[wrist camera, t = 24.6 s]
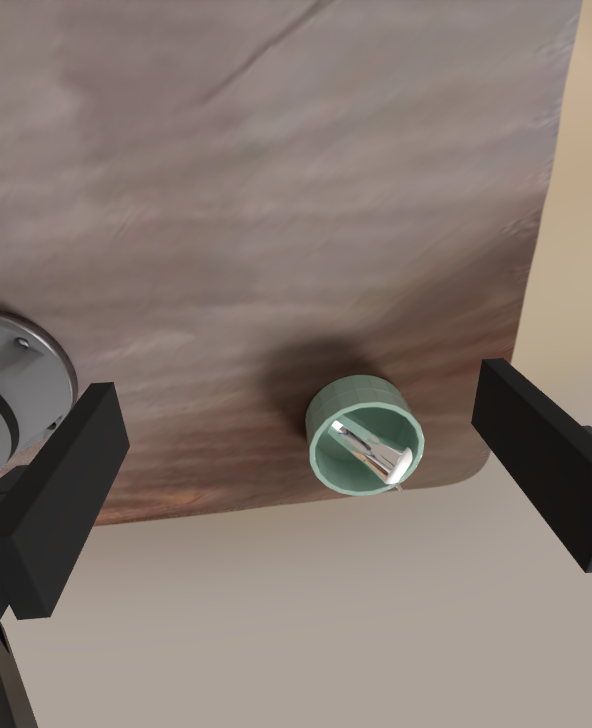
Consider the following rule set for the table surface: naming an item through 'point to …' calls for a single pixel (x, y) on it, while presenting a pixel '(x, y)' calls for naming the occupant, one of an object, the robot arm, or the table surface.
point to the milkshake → (372, 448)
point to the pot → (373, 407)
